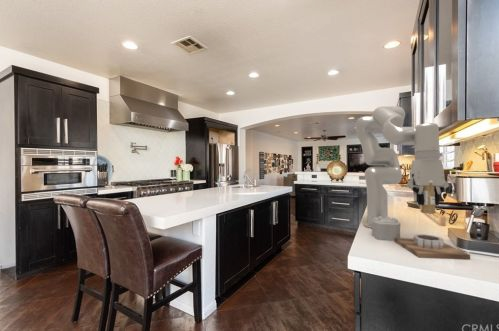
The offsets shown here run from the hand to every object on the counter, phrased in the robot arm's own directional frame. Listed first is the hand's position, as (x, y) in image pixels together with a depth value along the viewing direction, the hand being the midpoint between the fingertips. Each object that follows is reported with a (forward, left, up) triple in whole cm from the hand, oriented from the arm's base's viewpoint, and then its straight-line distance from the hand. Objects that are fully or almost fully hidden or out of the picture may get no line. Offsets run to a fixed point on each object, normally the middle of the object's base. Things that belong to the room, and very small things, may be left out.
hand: (427, 204), depth 91 cm
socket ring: (0, 0, -16) cm, 16 cm away
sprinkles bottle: (0, 0, -4) cm, 4 cm away
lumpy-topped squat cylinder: (-17, -9, -18) cm, 26 cm away
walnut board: (0, 0, -17) cm, 17 cm away
